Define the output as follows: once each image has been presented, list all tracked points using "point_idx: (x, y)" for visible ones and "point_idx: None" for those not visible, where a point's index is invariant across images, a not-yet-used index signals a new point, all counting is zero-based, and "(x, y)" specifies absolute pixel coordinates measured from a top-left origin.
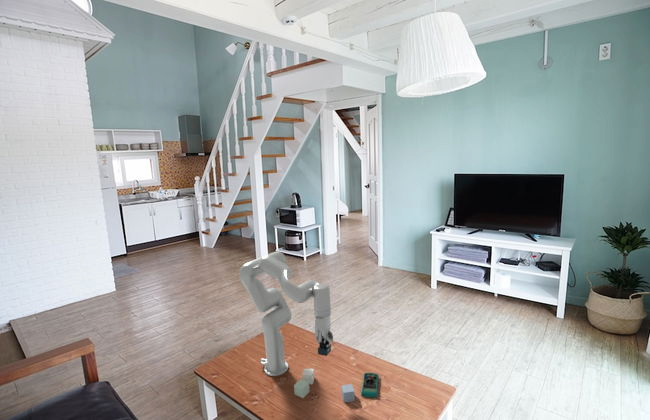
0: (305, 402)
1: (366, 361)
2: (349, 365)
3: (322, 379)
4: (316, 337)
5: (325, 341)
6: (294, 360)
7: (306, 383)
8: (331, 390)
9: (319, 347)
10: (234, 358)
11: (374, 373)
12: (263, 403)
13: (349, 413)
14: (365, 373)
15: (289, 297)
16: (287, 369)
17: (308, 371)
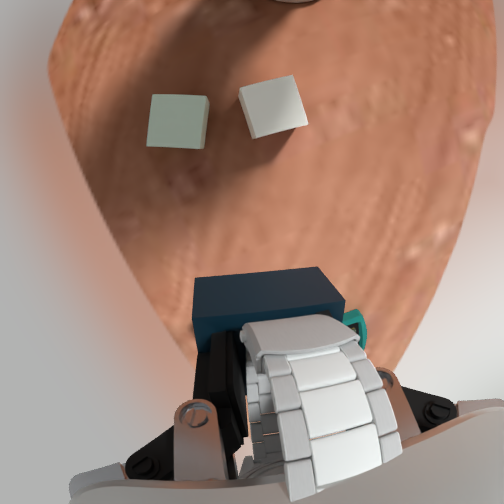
0: (141, 167)
1: (428, 284)
2: (404, 239)
3: (297, 166)
4: (105, 485)
5: (230, 456)
6: (363, 11)
7: (187, 142)
8: (246, 232)
9: (211, 330)
10: None
11: (362, 346)
12: (86, 36)
13: (171, 329)
14: (359, 322)
15: None
16: (296, 2)
17: (277, 106)
